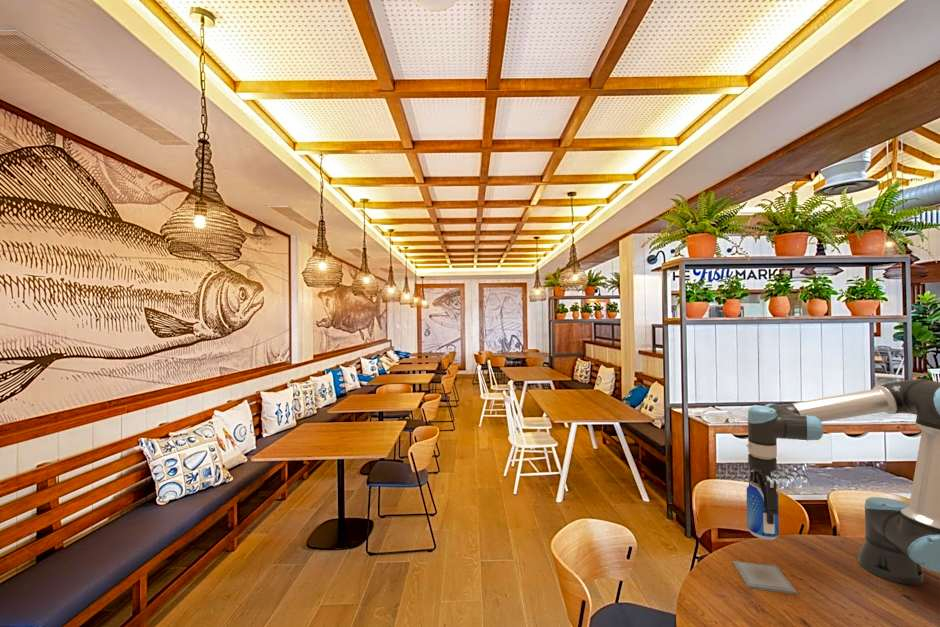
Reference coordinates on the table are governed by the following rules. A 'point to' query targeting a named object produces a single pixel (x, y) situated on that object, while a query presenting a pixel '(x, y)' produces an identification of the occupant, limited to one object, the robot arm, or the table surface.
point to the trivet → (764, 577)
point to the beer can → (759, 513)
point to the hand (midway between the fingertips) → (762, 525)
